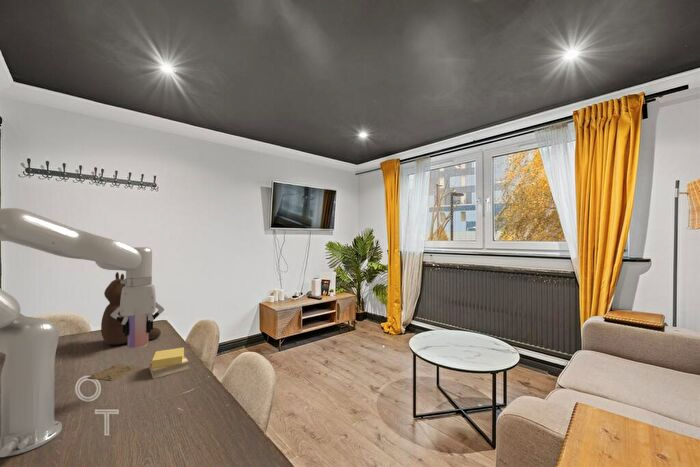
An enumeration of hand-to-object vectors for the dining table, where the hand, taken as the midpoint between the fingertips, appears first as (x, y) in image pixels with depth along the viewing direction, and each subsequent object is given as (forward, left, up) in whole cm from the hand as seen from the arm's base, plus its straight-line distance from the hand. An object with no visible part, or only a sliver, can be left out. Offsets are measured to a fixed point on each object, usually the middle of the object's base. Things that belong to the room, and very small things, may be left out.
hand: (138, 333), depth 104 cm
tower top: (+12, -9, -16) cm, 22 cm away
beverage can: (0, 0, -5) cm, 5 cm away
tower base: (+12, -9, -19) cm, 24 cm away
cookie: (+19, +9, -20) cm, 29 cm away
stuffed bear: (+60, +8, -19) cm, 64 cm away
